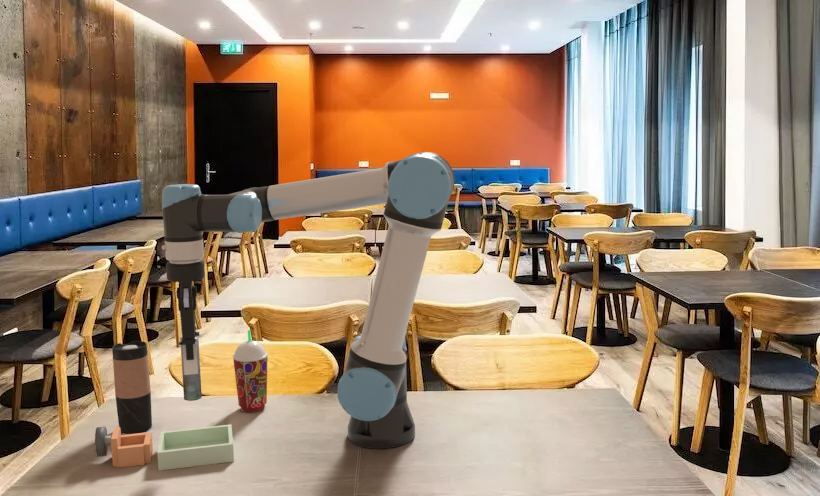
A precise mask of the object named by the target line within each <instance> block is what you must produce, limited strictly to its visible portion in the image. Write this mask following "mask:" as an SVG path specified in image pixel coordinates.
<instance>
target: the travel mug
mask: <svg viewBox="0 0 820 496" xmlns="http://www.w3.org/2000/svg"><path fill="white" fill-rule="evenodd" d="M111 350H112V351H111V353H112V365H113V380H114V395H115V404H116V411H117V412H116V413H117V420H118V421H117V422H118V427H120V429H121V434H122V435H127V434H136V433H145V432H146V433H147V432H148V431H149V430H150V429H152V426H153V425H152V424H153V423H152V422H153V421H152V420H153V419H152V395H151V394H152V393H151V392H152V391H151V378H150V367H149V355H148V345H147V342H145V341H142V340H131V341H130V342H129V343H124V344H123V343H121V342H118V343H116V344H114V345H112V349H111Z"/></svg>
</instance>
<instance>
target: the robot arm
mask: <svg viewBox="0 0 820 496" xmlns="http://www.w3.org/2000/svg"><path fill="white" fill-rule="evenodd" d="M455 181H456V180H455V175H454V171H453V168H452V166H451V165H450V163H449V162H448V160H446V158H444V157H443V156H441V155H440V154H437V153H435V152H430V151H422V152H418V153H414V154H413V153H412V154H409V155H407V156H405V157H404V158H402V159H399V160H393V161H387V162H386V163H385V165H384V166H383V167H380V168H374V169H366V170H359V171H355V172H348V173H342V174H337V175H336V174H335V175H330V176H329V175H328V176H324V177H323V176H322V177H318V178H311V179H304V180H298V181H291V182H286V183H278V184H274V185H273V184H272V185H268V186H267V185H266V186H261V187H257V186H256V187H248V188H245V189H243V190H241V191H237V192H232V193H228V194H203V193H202V191H201V187H200V186H199V185H198V184H196V183H195V184H191V183H183V184H182V183H178V184H169V185H166V186H164V187H163V188H162V193H161V197H162V199H161V201H162V202H161V203H162V204H161V210H162V220H163V222H162V223H163V232H164V233H163V235H164V236H163V238H164V245H162V246H161V249H162V251H164V253H165V259H166V260H167V262H166V263H165V268H166V269H165V272H166V274H165V275H166V279H167V281H169V282H172V283H179V287H176V298H177V303H178V311H179V312H180V322H181V324H180V325H181V337H182V342H181V341H179V342H178V345H179V346H181V345H183V362H184V375H190V374H198V365H197V347H196V339H195V336H198V337H200V331H197V326H196V311H195V310H196V309H197V295H198V289H197V288H198V287H197V286H194V285H193V282H194V281H195V282H198V281H201V280H203V279H205V276H206V274H205V261H204V260H203V258H204V257H205V249H204V236H203V234H204V233H203V232H205V233H209V232H212V233H213V232H217V233H221V232H223V233H238V234H243V233H253V232H256V231H258V230H259V228H260V225H261V224H262V223H265V222H272V221H277V220H284V219H285V220H286V219H290V218H297V217H305V216H311V215H317V214H318V215H319V214H324V213H331V212H339V211H345V210H352V209H357V208H365V207H371V206H372V207H373V206H379V205H384V204H385V207H384V211H383V217H384V218H385V220H386V222H387V225H388V226H387V227H388V228H387V231H386V235H385V239H384V243H383V247H382V251H381V255H380V260H379V263H378V266H377V267H378V268H377V270H376V275H375V278H374V283H373V287H372V291H371V295H370V299H369V303H368V307H367V311H366V315H365V318H364V319H365V320H364V323H363V327H362V330H361V334H360V335H358V336H356V337H355V338H354V339H353V341H352V342H351V344H350V347H349V352H348V356H347V359H346V363H345V367H344V372H343V374H342V375H341V377H340V378H339V380H338V383H337V392H336V393H337V399H338V403H339V404H340V406H341V407H342V409H343V411H345V413H346V414H348V415H349V416H350V417H349V421H348V425H347V438H348V440H349V441H350V442H351V443H352V444H354V445H357V446H358V447H363V448H368V449H381V450H382V449H390V448H391V449H392V448H396V447H400V446H404V445H406V444H408V443H410V442H411V441H413V439H414V438H415V436H416V425H415V424H416V423H415V422H414V418H413V415H412V412H411V409H410V407H409V404H408V399H407V397H408V395H407V393H408V391H407V389H408V388H407V359H408V357H407V352H408V349H407V348H408V347H407V345H406V344H407V342H406V339H405V337H406V334H407V329H408V326H409V322H410V318H411V314H412V310H413V308H414V303H415V299H416V294H417V293H418V289H419V284H420V280H421V277H422V273H423V269H424V265H425V261H426V257H427V253H428V249H429V246H430V242H431V238H432V236H433V235H436V234H437V233H439V232H440V231H441V230H442V227H443V224H444V220H445V216H446V212H447V208H448V205H449V204H448V203H449V201H450V197H451V195H452V193H453V192H454V187H455Z"/></svg>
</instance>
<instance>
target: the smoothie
mask: <svg viewBox="0 0 820 496" xmlns="http://www.w3.org/2000/svg"><path fill="white" fill-rule="evenodd" d="M251 334H252V332H251V329H248V330H247V338H248V339H247V340H246V341H243V342H242V343H240V344H239V345H237V348H236V349H235V351H234V354H233V355H232V359H233V369H234V375H235V384H236V393H237V402H238V406H239V407H240V409H241V411H242V412H244V413H257V412H261V411H262V410H264V409H265V406H266V404H267V403H268V402H267V401H268V355H269V353H268V352H267V351H266V349H265V348H264V346H263V344H261V343H259V341H256V340H252V335H251Z"/></svg>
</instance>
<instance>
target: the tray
mask: <svg viewBox="0 0 820 496" xmlns="http://www.w3.org/2000/svg"><path fill="white" fill-rule="evenodd" d="M159 434H160V435H159V439H158V447H157V454H156V455H157V467H158V471H165V470H166V471H167V470H173V469H183V468H189V467H199V466H207V465H208V466H209V465H216V464H222V463H233V462H235V457H234V456H235V454H234V452H235V451H234V438H233V425H232V424H223V425H222V424H221V425H213V426H205V427H196V428H195V427H194V428H184V429H175V430H168V431H161V432H159Z"/></svg>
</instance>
